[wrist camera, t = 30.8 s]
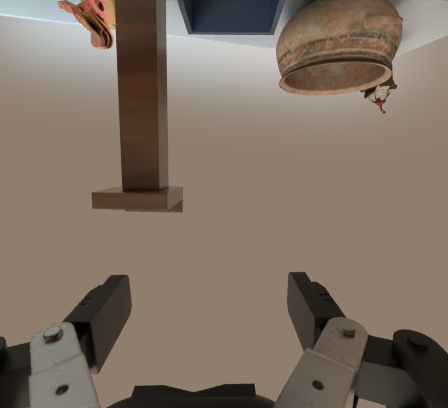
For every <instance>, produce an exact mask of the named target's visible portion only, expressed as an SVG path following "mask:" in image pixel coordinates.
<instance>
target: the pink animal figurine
mask: <svg viewBox="0 0 448 408" xmlns="http://www.w3.org/2000/svg"><path fill="white" fill-rule="evenodd" d="M81 1H82V2H81V3H79V4H78V5H77V6H76V5H74V4H72V3H70V2H68V1H66V0H63V1H59V2H58V5H59V7H60V8H61V9H65V10H66V11H67V12H68V13H72V14H73V15H74V16H75V18H76V19H77V20H78V21H79V22H80V23H81V24H82V25H83V26H85V27H86V28H87V29H88V30H89V31H90V32H91V43H92V45H93V46H94V47H96V48H99V49H109V48H111V47H112V45H113V42H114V39H113V35H112V33H111V31H110V30H109V29H116V25H114V23H115V0H81Z"/></svg>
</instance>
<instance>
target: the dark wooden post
mask: <svg viewBox="0 0 448 408" xmlns="http://www.w3.org/2000/svg"><path fill="white" fill-rule="evenodd" d="M115 23H116V45H117V46H116V47H117V71H118V93H119V94H118V95H119V119H120V143H121V168H122V186H121V187H116V188H112V189H106V190H101V191H96V192H92V207H93V209H117V210H118V209H120V210H125V211H137V212H138V211H139V212H140V211H141V212H183V187H170V186H168V130H167V129H168V127H167V61H166V60H167V58H166V57H167V55H166V0H115Z"/></svg>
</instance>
